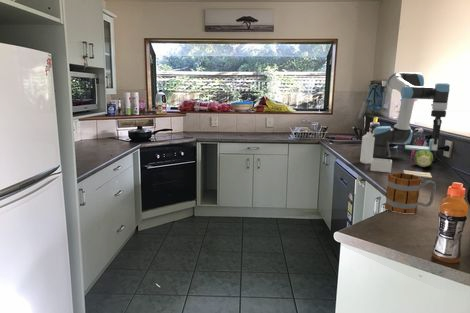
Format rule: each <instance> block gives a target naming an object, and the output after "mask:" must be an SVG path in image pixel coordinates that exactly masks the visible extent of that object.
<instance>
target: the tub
mask: <svg viewBox="0 0 470 313" xmlns="http://www.w3.org/2000/svg"><path fill="white" fill-rule="evenodd" d="M392 164H393V160H392V159H389V158H376V157H373V158H372V160H371V163H370V169H369V171H372V172H373V171H374V172H381V173H382V172H383V173H389V174H390V173H392V167H393V165H392Z"/></svg>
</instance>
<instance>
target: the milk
mask: <svg viewBox="0 0 470 313" xmlns="http://www.w3.org/2000/svg"><path fill="white" fill-rule="evenodd" d="M361 137H362V138H361V139H362V140H361V146H360V147H361V149H360V159H359V162H360V163H362V164H371V160H372V158H374V157H373V150H374V140H375V138H374V135H372V133H371V132H369V131H366V134H364V135H362V136H361Z"/></svg>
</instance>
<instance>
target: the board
mask: <svg viewBox="0 0 470 313" xmlns="http://www.w3.org/2000/svg"><path fill="white" fill-rule="evenodd" d="M403 173H406V174H413V175H416V176H419V177H422V178H423V179H424V178H426V179H432V178H433V176H432V174H431V172H423V171H416V170H415V171H414V170H405V169H403Z"/></svg>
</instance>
